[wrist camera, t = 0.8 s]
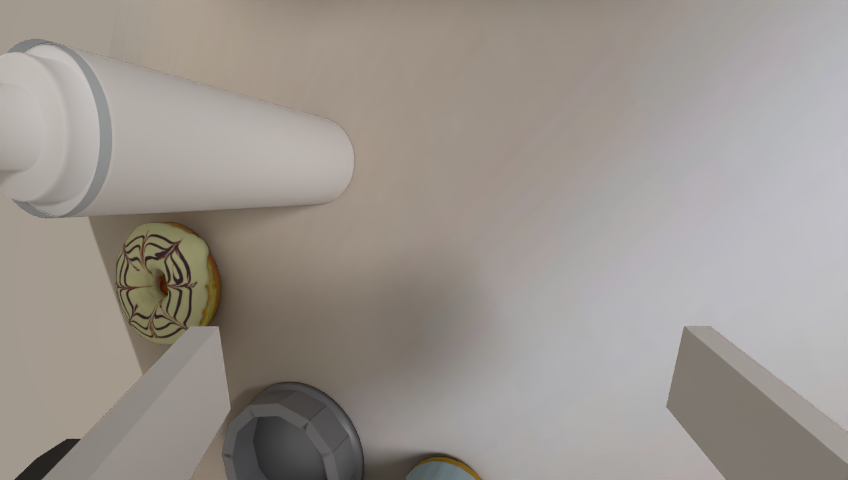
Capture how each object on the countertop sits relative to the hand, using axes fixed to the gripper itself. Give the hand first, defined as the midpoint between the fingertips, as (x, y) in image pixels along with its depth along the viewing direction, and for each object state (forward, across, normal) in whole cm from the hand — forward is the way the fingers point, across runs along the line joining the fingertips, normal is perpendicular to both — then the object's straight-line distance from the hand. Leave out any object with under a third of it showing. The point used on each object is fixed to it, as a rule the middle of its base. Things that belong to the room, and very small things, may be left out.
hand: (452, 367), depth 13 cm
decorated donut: (+27, -22, -9) cm, 36 cm away
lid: (+20, -11, -22) cm, 31 cm away
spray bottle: (+24, -8, +2) cm, 26 cm away
